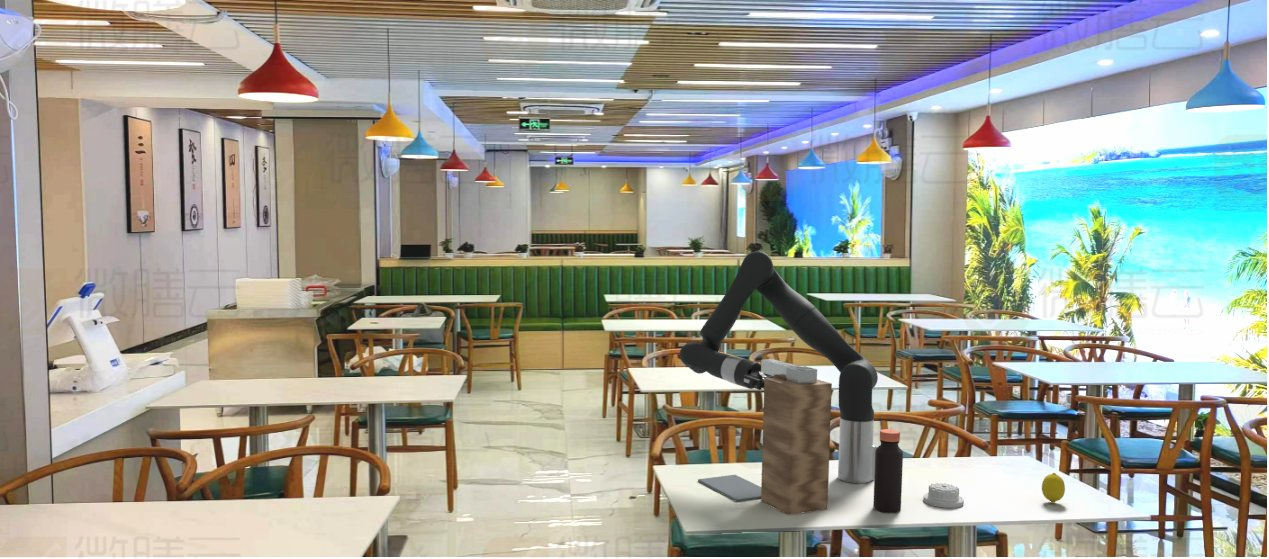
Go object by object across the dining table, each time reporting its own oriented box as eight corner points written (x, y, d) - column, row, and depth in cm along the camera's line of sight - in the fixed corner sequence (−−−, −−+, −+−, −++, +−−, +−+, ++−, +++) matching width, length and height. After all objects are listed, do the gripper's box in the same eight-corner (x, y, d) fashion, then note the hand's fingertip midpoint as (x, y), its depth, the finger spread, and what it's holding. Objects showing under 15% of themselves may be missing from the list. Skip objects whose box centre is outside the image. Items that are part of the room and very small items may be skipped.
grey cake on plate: (967, 510, 244) (958, 498, 254) (968, 493, 244) (959, 481, 254) (927, 508, 245) (919, 496, 255) (928, 491, 245) (920, 480, 254)
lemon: (1064, 501, 252) (1065, 471, 251) (1063, 507, 247) (1065, 477, 246) (1041, 498, 254) (1042, 469, 253) (1040, 504, 249) (1042, 474, 248)
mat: (735, 476, 270) (735, 474, 269) (775, 496, 252) (775, 494, 252) (698, 481, 264) (698, 479, 264) (737, 501, 246) (737, 499, 246)
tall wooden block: (799, 495, 252) (803, 372, 250) (827, 509, 242) (831, 380, 239) (760, 501, 247) (764, 375, 245) (788, 514, 236) (792, 383, 234)
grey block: (775, 371, 256) (776, 358, 256) (816, 382, 240) (817, 369, 240) (757, 372, 253) (757, 359, 253) (797, 384, 237) (798, 370, 237)
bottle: (886, 514, 238) (889, 435, 236) (867, 507, 244) (870, 429, 242) (906, 511, 241) (909, 432, 240) (887, 503, 247) (890, 427, 246)
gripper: (727, 361, 259) (776, 375, 248) (758, 356, 270) (806, 370, 259) (723, 387, 260) (772, 403, 249) (755, 382, 271) (803, 397, 260)
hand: (789, 386), depth 254 cm, fingers open, 8 cm apart
